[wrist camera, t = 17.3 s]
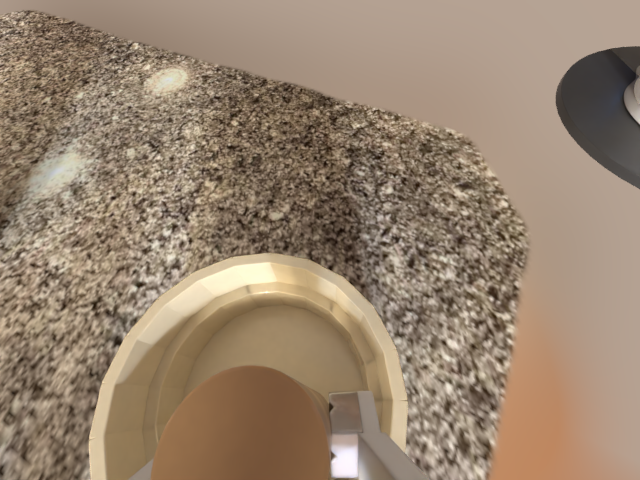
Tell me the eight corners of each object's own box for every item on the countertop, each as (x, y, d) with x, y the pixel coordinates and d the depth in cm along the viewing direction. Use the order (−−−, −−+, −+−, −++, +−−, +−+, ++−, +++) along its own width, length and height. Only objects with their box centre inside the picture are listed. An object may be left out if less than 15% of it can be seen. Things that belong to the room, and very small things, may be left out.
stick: (328, 386, 18) (320, 354, 5) (334, 443, 16) (342, 580, 4) (281, 392, 17) (162, 374, 5) (283, 449, 16) (129, 608, 4)
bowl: (362, 282, 23) (373, 240, 17) (406, 523, 17) (451, 594, 10) (181, 303, 23) (127, 267, 17) (149, 556, 16) (38, 651, 10)
